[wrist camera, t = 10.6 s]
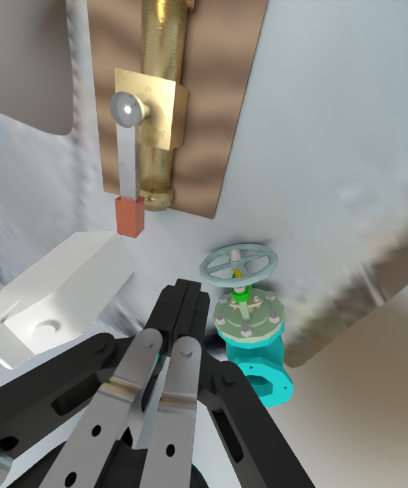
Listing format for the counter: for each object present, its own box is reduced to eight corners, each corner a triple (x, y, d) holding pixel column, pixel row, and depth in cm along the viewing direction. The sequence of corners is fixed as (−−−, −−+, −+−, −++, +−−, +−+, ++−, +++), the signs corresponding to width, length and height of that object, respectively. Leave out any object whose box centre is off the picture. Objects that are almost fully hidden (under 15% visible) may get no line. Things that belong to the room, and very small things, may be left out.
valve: (224, 404, 40) (182, 281, 29) (230, 332, 55) (205, 235, 44) (300, 410, 36) (285, 271, 25) (283, 331, 51) (270, 224, 40)
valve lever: (147, 97, 20) (135, 94, 18) (145, 229, 29) (137, 238, 27) (119, 91, 20) (104, 87, 18) (126, 224, 29) (116, 233, 27)
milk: (75, 232, 47) (-68, 328, 25) (118, 231, 45) (2, 335, 23) (95, 271, 53) (-6, 375, 31) (133, 271, 51) (53, 384, 29)
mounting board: (89, -58, 23) (80, -68, 22) (272, -18, 22) (273, -26, 21) (108, 189, 39) (103, 191, 38) (213, 216, 39) (212, 219, 38)
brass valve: (147, -35, 23) (81, -145, 13) (205, -22, 22) (180, -125, 13) (142, 194, 38) (110, 218, 29) (176, 203, 38) (155, 230, 28)
